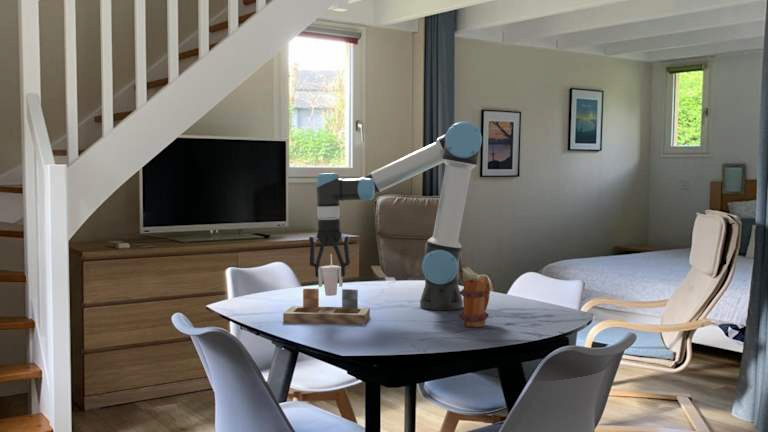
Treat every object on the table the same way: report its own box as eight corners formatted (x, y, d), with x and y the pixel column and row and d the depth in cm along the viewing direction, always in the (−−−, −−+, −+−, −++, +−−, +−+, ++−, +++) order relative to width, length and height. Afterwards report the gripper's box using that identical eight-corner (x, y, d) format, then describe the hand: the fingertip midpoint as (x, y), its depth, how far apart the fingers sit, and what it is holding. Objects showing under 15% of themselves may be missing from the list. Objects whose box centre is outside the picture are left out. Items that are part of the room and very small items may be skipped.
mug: (479, 330, 241) (479, 281, 240) (454, 327, 245) (455, 279, 244) (498, 322, 253) (499, 275, 253) (475, 319, 258) (475, 273, 257)
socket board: (369, 316, 262) (369, 289, 261) (364, 324, 249) (364, 296, 248) (292, 314, 264) (292, 288, 264) (283, 322, 252) (283, 294, 251)
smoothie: (337, 296, 267) (336, 254, 266) (319, 296, 268) (317, 255, 267) (342, 293, 273) (341, 252, 272) (324, 293, 275) (323, 253, 274)
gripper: (358, 217, 272) (360, 284, 273) (303, 218, 274) (305, 284, 275) (355, 218, 265) (357, 287, 266) (298, 219, 266) (300, 288, 268)
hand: (330, 286), depth 271 cm, fingers closed on smoothie, 6 cm apart
